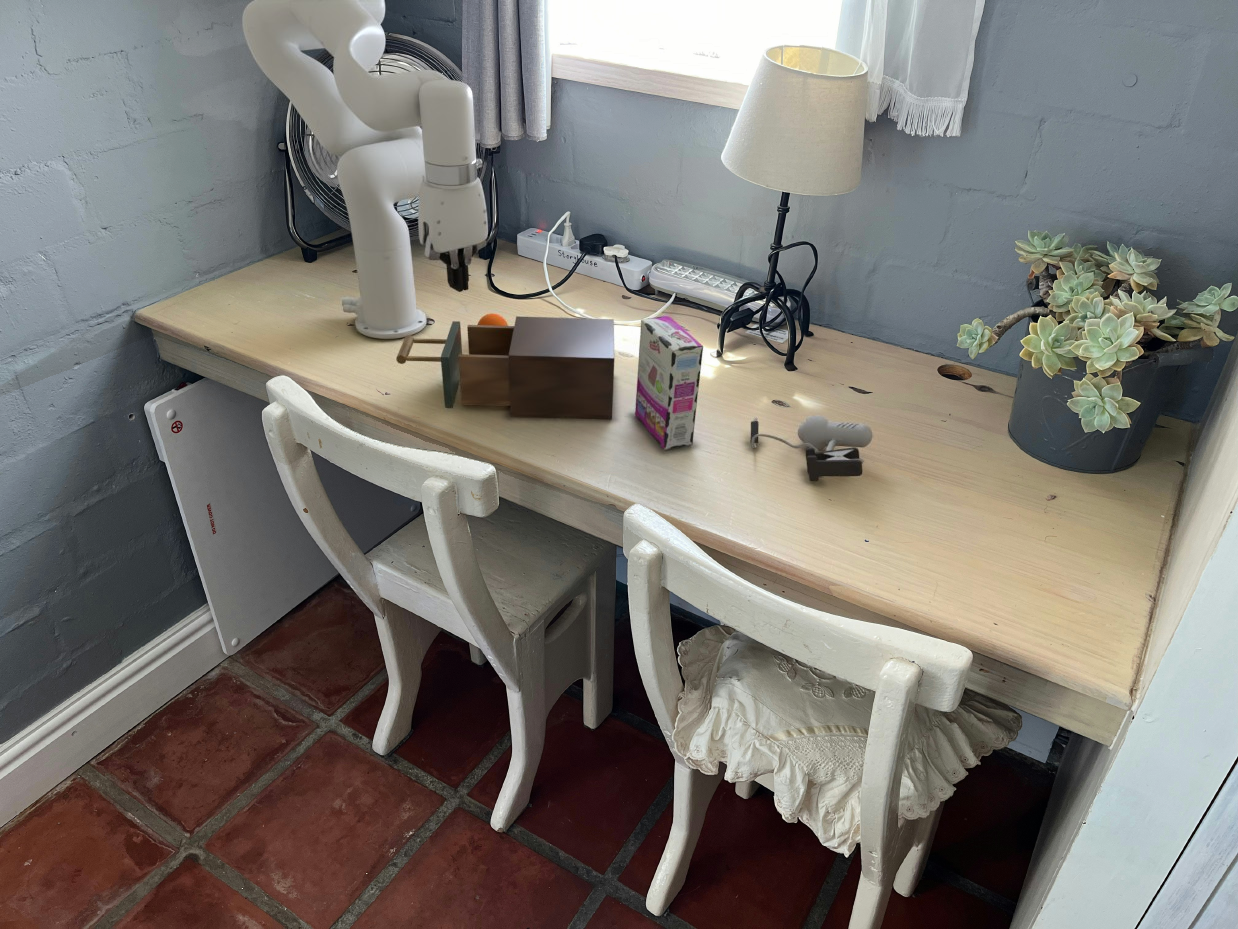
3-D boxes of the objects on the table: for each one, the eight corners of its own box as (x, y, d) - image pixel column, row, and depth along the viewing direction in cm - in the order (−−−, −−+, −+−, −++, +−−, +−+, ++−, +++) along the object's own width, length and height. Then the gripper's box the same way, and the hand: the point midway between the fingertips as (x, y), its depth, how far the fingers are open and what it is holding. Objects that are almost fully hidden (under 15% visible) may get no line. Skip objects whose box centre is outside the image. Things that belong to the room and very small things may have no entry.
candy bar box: (694, 445, 130) (705, 345, 120) (664, 451, 128) (672, 351, 119) (662, 409, 138) (669, 313, 129) (633, 414, 136) (639, 317, 127)
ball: (473, 348, 153) (472, 319, 150) (482, 335, 157) (481, 307, 154) (504, 352, 152) (503, 323, 149) (512, 338, 156) (511, 310, 153)
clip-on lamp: (736, 478, 128) (861, 488, 120) (731, 442, 125) (858, 451, 117) (760, 433, 136) (877, 441, 128) (755, 398, 133) (876, 404, 125)
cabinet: (510, 417, 134) (508, 355, 128) (517, 374, 145) (516, 316, 139) (612, 419, 135) (614, 358, 129) (611, 377, 146) (613, 319, 140)
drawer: (397, 407, 134) (391, 355, 129) (412, 368, 144) (406, 319, 139) (539, 410, 134) (538, 359, 129) (544, 372, 145) (543, 323, 140)
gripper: (478, 158, 136) (483, 270, 146) (393, 174, 127) (405, 292, 137) (507, 169, 131) (510, 284, 142) (421, 187, 123) (431, 308, 133)
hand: (458, 288), depth 139 cm, fingers closed
